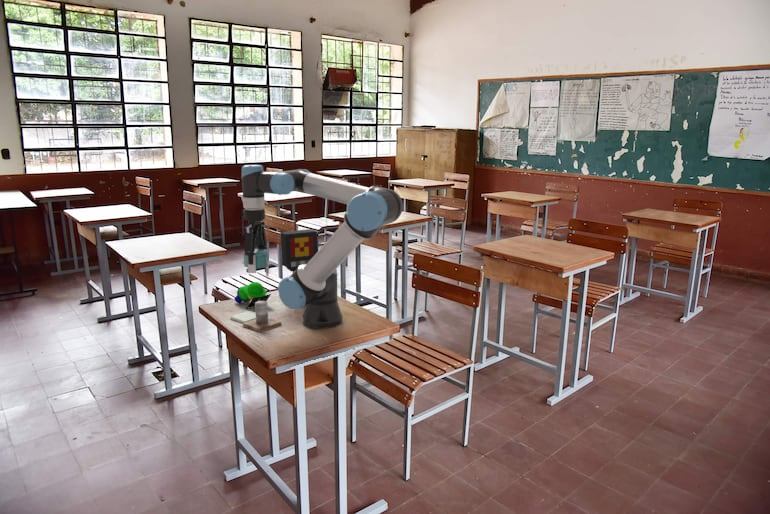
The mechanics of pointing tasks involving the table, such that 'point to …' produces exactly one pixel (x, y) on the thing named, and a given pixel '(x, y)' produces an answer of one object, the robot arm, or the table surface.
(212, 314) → the table surface
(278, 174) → the robot arm
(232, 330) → the table surface
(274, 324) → the post stand
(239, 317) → the mat
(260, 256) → the cap
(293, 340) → the table surface
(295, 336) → the table surface
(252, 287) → the toy
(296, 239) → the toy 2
